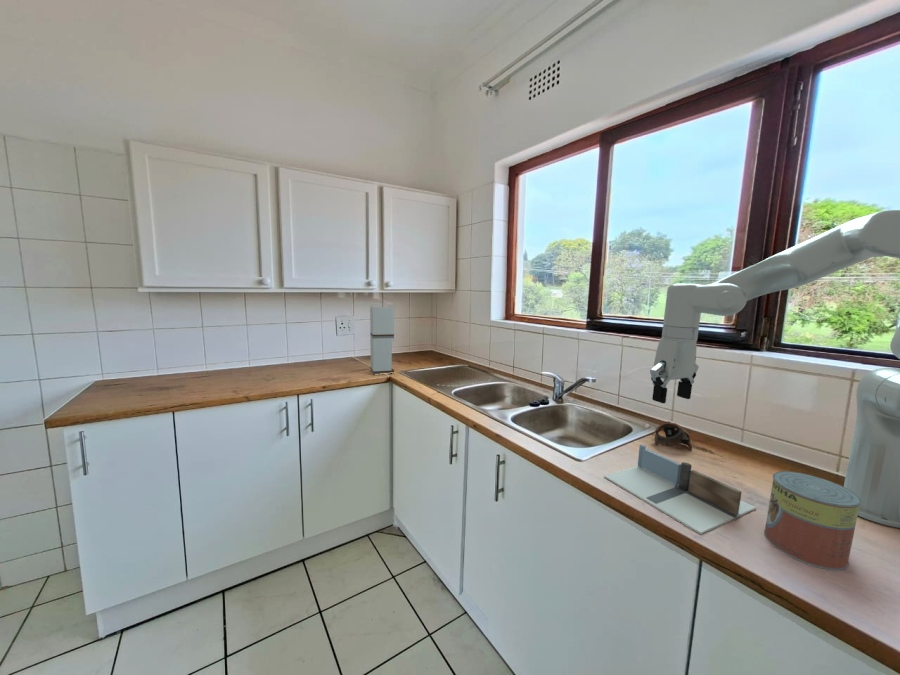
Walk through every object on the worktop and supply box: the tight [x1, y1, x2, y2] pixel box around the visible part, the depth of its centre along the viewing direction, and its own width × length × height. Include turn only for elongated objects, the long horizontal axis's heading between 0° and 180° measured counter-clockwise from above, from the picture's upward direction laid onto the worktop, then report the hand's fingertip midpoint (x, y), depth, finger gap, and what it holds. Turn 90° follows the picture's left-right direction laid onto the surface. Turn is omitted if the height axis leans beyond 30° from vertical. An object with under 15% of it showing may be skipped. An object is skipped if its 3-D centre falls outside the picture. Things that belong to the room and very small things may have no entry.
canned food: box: [763, 470, 861, 571], centre depth 66 cm, size 11×11×12 cm
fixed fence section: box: [679, 461, 743, 515], centre depth 80 cm, size 12×2×7 cm, turn 26°
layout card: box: [603, 465, 757, 535], centre depth 84 cm, size 23×20×1 cm
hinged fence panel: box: [637, 444, 681, 485], centre depth 90 cm, size 10×1×6 cm, turn 26°
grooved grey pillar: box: [369, 305, 395, 375], centre depth 190 cm, size 11×11×35 cm
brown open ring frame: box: [653, 421, 693, 451], centre depth 110 cm, size 12×10×8 cm
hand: (671, 399), depth 92 cm, fingers open, 9 cm apart
